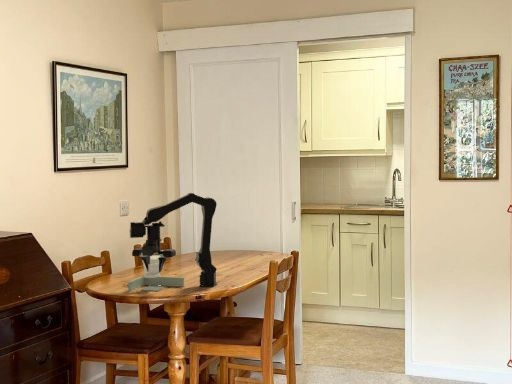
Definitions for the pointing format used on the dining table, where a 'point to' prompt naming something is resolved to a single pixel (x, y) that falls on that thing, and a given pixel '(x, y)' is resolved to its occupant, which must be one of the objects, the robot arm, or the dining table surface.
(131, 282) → the corner frame
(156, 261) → the cup
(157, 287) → the pad
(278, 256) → the dining table surface
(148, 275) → the bracket
